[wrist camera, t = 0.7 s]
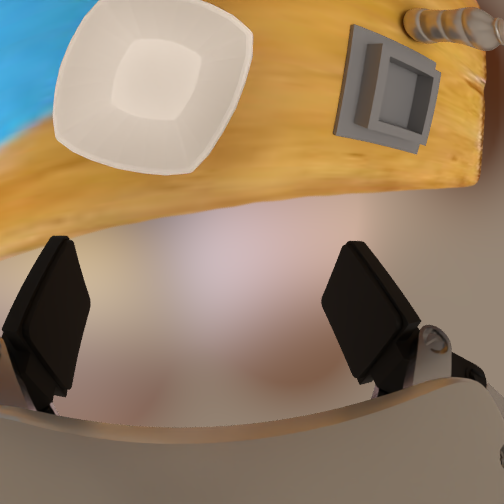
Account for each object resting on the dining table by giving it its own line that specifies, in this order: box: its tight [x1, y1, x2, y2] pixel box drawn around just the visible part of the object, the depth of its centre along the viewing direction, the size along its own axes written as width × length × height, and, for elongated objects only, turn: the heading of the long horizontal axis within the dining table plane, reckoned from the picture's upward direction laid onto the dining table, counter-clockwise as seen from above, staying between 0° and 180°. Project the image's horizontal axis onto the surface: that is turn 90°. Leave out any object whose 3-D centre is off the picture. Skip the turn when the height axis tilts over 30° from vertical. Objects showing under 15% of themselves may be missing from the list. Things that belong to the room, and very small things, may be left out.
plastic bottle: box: [403, 7, 504, 51], centre depth 19 cm, size 6×7×20 cm
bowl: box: [53, 0, 253, 175], centre depth 25 cm, size 21×21×9 cm
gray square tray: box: [333, 24, 441, 154], centre depth 32 cm, size 18×17×5 cm
